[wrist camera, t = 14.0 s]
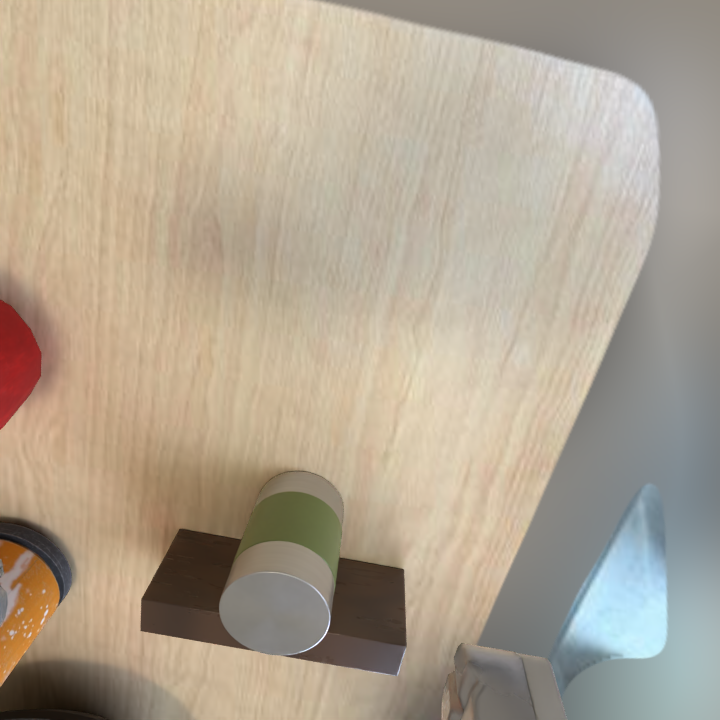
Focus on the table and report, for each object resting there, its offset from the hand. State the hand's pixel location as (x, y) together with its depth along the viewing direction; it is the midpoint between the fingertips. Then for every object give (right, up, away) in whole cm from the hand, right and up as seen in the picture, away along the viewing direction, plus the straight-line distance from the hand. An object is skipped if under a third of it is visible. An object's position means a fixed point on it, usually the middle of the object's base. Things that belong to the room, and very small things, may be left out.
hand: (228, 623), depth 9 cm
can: (-2, -7, +31) cm, 32 cm away
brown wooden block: (-3, -13, +34) cm, 36 cm away
